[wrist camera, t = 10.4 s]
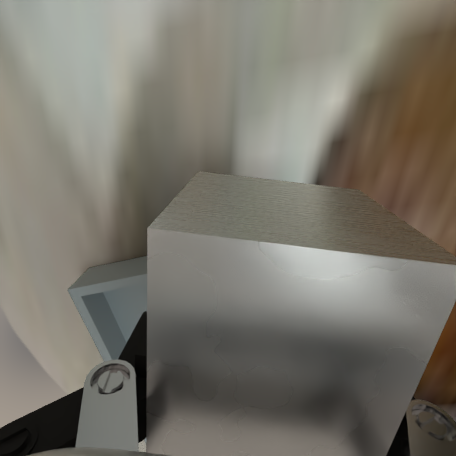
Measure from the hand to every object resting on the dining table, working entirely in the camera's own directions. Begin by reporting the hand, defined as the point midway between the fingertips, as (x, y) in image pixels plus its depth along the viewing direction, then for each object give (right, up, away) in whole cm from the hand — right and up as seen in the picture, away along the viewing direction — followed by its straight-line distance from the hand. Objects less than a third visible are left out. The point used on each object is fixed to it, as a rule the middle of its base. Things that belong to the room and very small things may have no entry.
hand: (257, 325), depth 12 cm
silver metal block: (0, 0, +1) cm, 1 cm away
